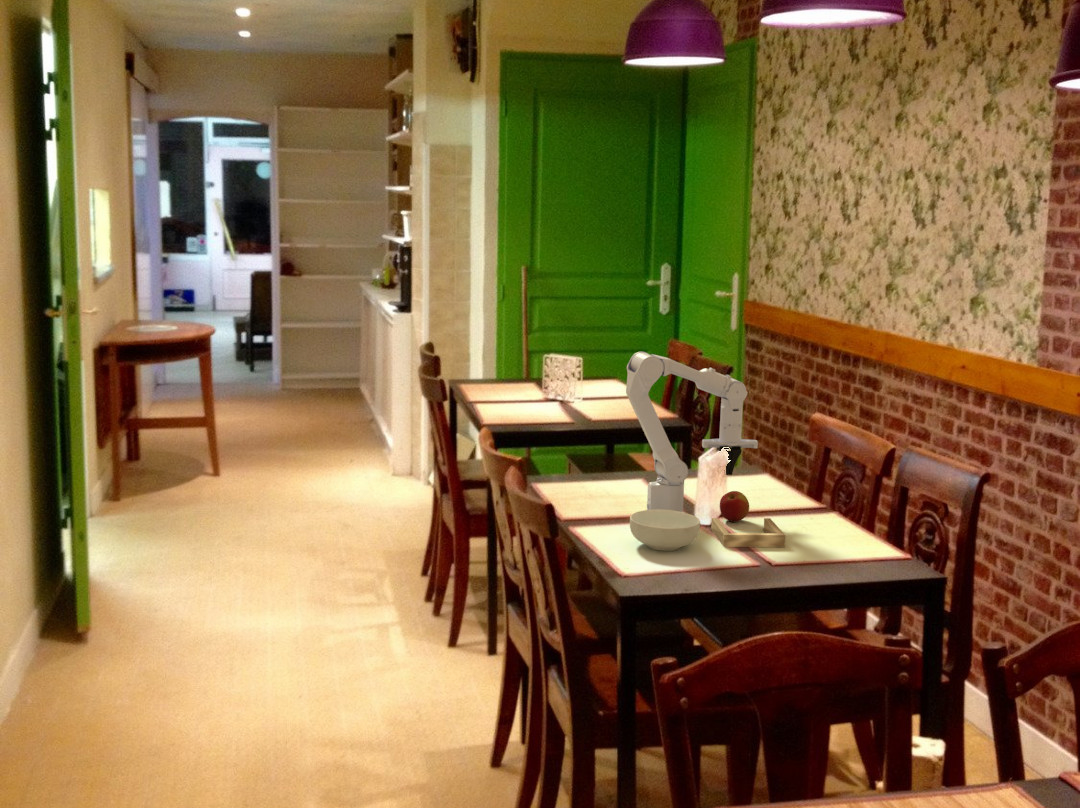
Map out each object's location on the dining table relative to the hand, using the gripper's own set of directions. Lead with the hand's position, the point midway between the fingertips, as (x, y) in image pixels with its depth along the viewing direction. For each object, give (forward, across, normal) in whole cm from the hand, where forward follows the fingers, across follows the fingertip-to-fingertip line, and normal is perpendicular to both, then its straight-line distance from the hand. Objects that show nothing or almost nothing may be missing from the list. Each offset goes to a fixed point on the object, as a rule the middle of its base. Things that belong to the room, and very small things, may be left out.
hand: (728, 474), depth 338 cm
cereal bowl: (+11, -22, -32) cm, 40 cm away
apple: (+11, 0, -9) cm, 14 cm away
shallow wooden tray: (+10, 0, -24) cm, 26 cm away
